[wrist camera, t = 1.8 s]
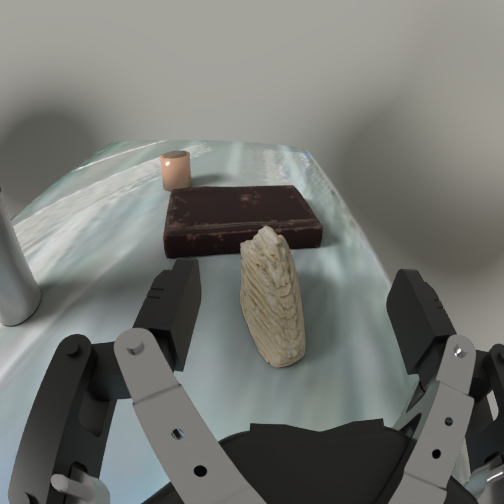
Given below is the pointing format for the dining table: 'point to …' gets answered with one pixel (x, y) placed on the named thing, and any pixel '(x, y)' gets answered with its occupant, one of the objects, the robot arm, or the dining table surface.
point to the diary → (236, 219)
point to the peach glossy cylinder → (176, 170)
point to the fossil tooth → (272, 298)
